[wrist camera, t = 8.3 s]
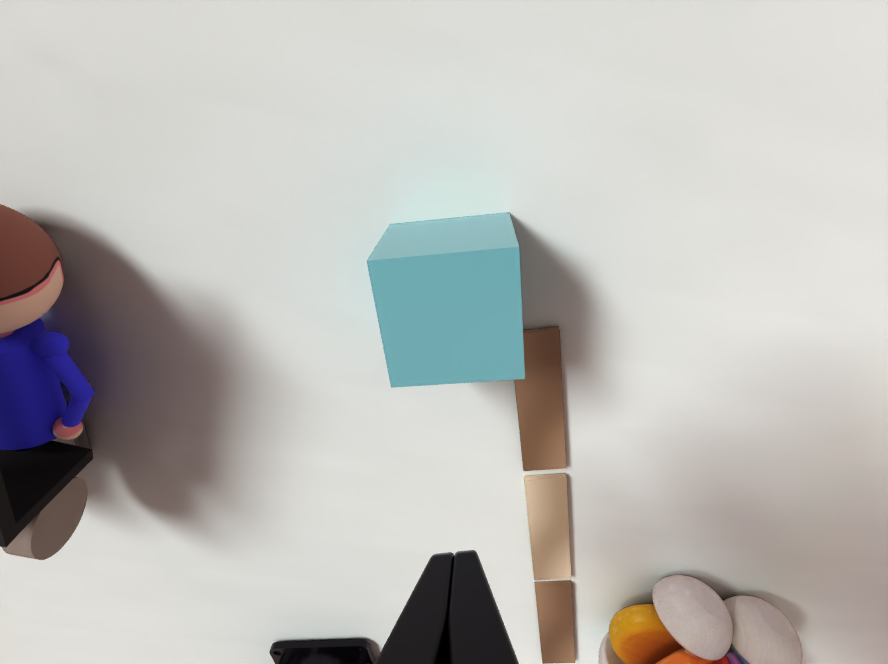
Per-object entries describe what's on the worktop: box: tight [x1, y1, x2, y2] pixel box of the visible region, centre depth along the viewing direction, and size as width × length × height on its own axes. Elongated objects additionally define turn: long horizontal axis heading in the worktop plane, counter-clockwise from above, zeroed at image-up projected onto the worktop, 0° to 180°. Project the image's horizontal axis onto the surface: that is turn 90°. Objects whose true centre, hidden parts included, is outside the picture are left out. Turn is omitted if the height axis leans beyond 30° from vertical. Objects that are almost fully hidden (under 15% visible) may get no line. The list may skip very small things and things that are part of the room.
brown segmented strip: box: [515, 327, 575, 664], centre depth 25 cm, size 2×23×1 cm, turn 9°
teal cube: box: [367, 212, 525, 387], centre depth 17 cm, size 4×4×4 cm
